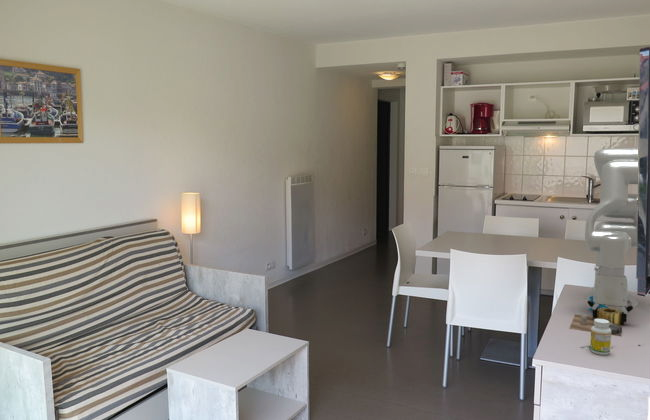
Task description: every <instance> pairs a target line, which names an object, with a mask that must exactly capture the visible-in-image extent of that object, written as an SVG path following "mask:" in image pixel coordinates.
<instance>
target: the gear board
mask: <svg viewBox="0 0 650 420" xmlns="http://www.w3.org/2000/svg"><path fill="white" fill-rule="evenodd" d="M594 319H595V318H593V316H589V315H588V314H586V313H581V314H574V315H573V318H572V321H571V323H570V326H569V328H568V329H569V330H575V331H582V332H590V333H591V328H592V327H593V326H595V325H594ZM609 328H610V329H611V336H616V337H622V333H623V325H622V324H621V325H617V324H612V323H610V322H609Z"/></svg>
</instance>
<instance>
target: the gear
mask: <svg viewBox="0 0 650 420" xmlns="http://www.w3.org/2000/svg"><path fill="white" fill-rule="evenodd" d="M589 299H590V300H591V301H592V302H593V303H595V302H594V301H593V296H591V297H589ZM602 307H605V308H610V307H609V306H608V305H601V304H599V305H598V307H597V308H602ZM588 310H589V311H593V309H592V308H591V307H590V308H588Z"/></svg>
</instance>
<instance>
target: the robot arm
mask: <svg viewBox="0 0 650 420" xmlns="http://www.w3.org/2000/svg"><path fill="white" fill-rule="evenodd" d="M638 148H639V147H610V148H608V147H607V148H600V149H598V150H596V151H595V152H594V155H593V160H594V161H593V162H594V166H595V170H596V172H597V175H598V178H599V180H600V194H599V195H600V196H599V203H598V204H597V205H596V206H595V207H594V208H593V209H592V210H591V212H590V213H589V214H588V216H587V218H586V221H585V229H584V230H585V231H584V232H585V233H584V245H585V248H586V249H587V250H588V251H591V252H595V266H594V267H593V268H594V285H593V286H592V287H591V288H592V291H590V292H587V293H586V294H584V295H583V299H584V300H585V301H586V303H587V305H588V306H590V308H592V309H593V310H592V317H593V318H595V319H597V311H598V310H597V309H598V308H597V307H598V305H599V304H601V305H605V306H608V307H609V306H611V307H619V308H620V310H621V312H622V319H621V324H622V326H624V324H625V323H627V315H628V314H629V313H630V312H631V311H632V310H634V308H635V307H636V306H638V305H639V301H638V300H636V299H635V298H634V297H633V296H631V295H630V294H629V287H628V277H627V276H626V275H625V269H626V268H625V267H626V253H627V252H628V251H629V250H630V249H631V248H638V247H637V200H638V194H639V193H629V185H639V184H638ZM601 216H603V217H605V218H609V219H610V218H611V219H627V220H628V219H631V220H632V221H633V222H631V221H630V222H629V221H613V220H612V221H611V220H610V221H609V220H606V221H605V220H604V221H600V222H598V223H597V224H596V225H595V223H596V221H597V219H599V218H600V217H601ZM591 296H593V301H594V302H595V303H593V302H592V301H591V300H590V299H589V297H591ZM628 301H630V303H631V304H629V305H628V306H627V304H628Z"/></svg>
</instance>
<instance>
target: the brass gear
mask: <svg viewBox="0 0 650 420" xmlns="http://www.w3.org/2000/svg"><path fill="white" fill-rule="evenodd" d="M597 310H598V311H597V319H605V320H608V321H609V322H610V323H612V324H617V325H621V319H622V312H623V311H622V309H617V308H612V307H609V308H605V307H602V308H598V309H597Z"/></svg>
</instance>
